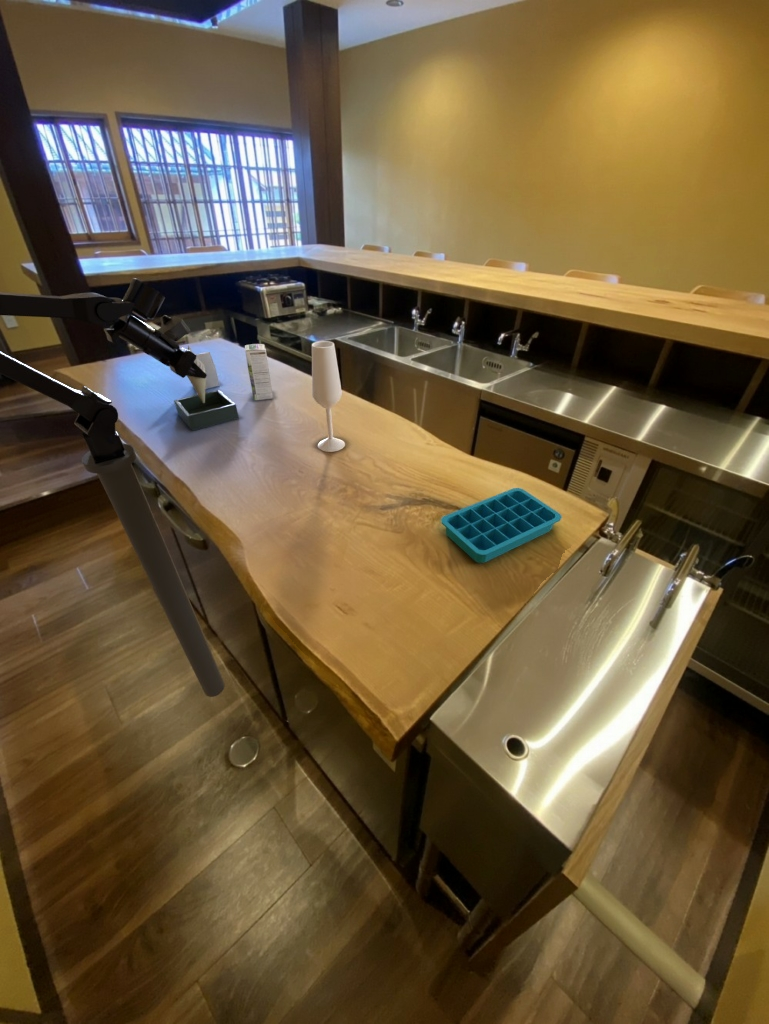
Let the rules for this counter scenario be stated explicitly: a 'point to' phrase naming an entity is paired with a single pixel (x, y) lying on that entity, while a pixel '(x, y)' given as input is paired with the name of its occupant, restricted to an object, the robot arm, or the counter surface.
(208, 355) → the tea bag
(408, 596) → the counter surface
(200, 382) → the ice cream cone
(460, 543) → the ice cube tray
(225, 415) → the bin
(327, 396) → the champagne flute
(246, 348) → the syrup box
